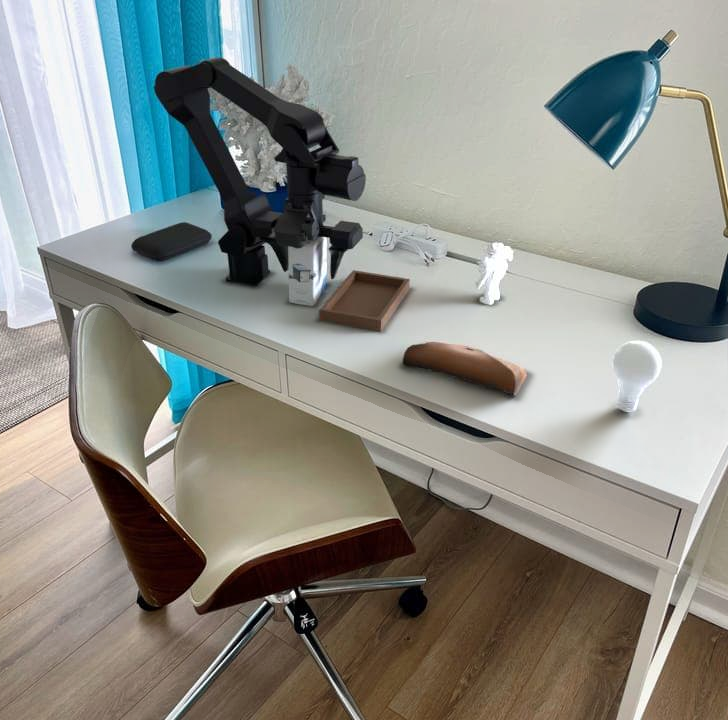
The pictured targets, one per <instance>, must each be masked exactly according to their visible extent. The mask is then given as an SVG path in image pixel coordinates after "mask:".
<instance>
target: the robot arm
mask: <svg viewBox="0 0 728 720" xmlns="http://www.w3.org/2000/svg"><path fill="white" fill-rule="evenodd" d="M209 89H212V90H214V91H215V92H216V93H218V94H220V95H221V96H222V97H224V98H225V99H226V100H228V101H230V102H231V103H232V104H234V105H235V106H237V107H238V108H240V109H241V110H243V111H245V112H246V113H247V114H249V115H250V116H252V117H253V118H254V119H256V120H257V121H259V122H260V123H262V125H263V126H264V127H266V129H267V132H268V133H269V135H270V137H271V138H272V139H273V140H274V141H275V142H276V143H277V144H278V145H279V146H280V147H281V148H282V149H281V150H280V152H279V153H278V154H277V155H275V156H274V157H273V160H274V161H275V162H277V163H282V164H285V170H286V186H287V197H286V198H285V199H284V209H283V212H277V211H274V210H273V209H272V207H271V205H270V202H269V200H268V197H267V196H266V195H265V194H264V193H263V194H260V195H257V194H256V193H254V192H253V191H251V190H250V188H249V187H248V185H247V183H246V181H245V179H244V178H243V176H242V173H241V172H240V169H239V167H238V165H237V163H236V162H235V159H234V157H233V156H232V153H231V152H230V150H229V148H228V146H227V144H226V142H225V140H224V138H223V136H222V134H221V131H220V129H219V128H218V127H217V125H216V122H215V121H214V119H213V117H212V114H211V95H210V92H209ZM153 91H154V94H155V96H156V98H157V100H158V101H159V103H160V104H161V105H162V107H163V108H164V110H165V111H166V113H167V115H169V116H170V117H172V118H173V119H174V120H176V121H177V122H178V123H180V124H181V125H182V126H183V127H184V128H185V130H186V132H187V134H188V136H189V138H190V140H191V141H192V143H193V146H194V147H195V149H196V151H197V153H198V155H199V157H200V159H201V160H202V162H203V163H202V164H203V165H204V166H205V168H206V170H207V172H208V174H209V176H210V178H211V180H212V182H213V184H214V186H215V187H216V189H217V191H218V193H219V195H220V197H221V199H222V201H223V217H224V218H223V221H224V223H225V226H226V228H227V231H226V232H225V233H224V234H223V235H222V236H221V237H220V238H219V240H218V241H217V244H218V247H219V250H220V252H221V253H224V254H226V255H227V263H228V273H229V274H228V275H227V276H225V282H229V283H235V284H241V285H246V286H251V287H257V286H258V285H259V284H260V283H262V282H263V281H264V280H265V279H266V278H267V277H268V276H269V275H270V274H271V273H272V272H271V269H270V268H269V258H268V257H269V256H268V254H267V253H266V246H265V244H268V245H269V246H270V247H271V249H272V251H273V252H274V254H275V257H276V258H277V260H278V262H279V264H280V267H281V268H282V271H283V272H284V273H287V272H289V258H288V246H289V247H294V248H297V249H299V248H302V247H303V246H304V245H305V243H306V242H307V241H308V240H311V241H315V239H316V237H317V236H320V237H326V239H327V238H329V244H330V246H329V247H328V248H327V249H328V250H327V251H328V252H329V254H330V261H329V262H330V265H329V267H330V268H329V270H330V271H329V276H330V279H331V280H334V279H335V278H336V275H337V273H338V270H339V268H340V264H341V262H342V259H343V257H344V255H345V253H346V252H347V251H348V250H353V249H354V248H355V247H356V246H357V245H358V244H359V243H360V241H361V240H362V239H363V238H364V229H363V227H362V225H361V224H360V222H355V221H346V220H339V221H338V223H336V225H334V226H331V225H324V223H325V222H326V221H327V217H326V215H327V214H324V207H323V200H324V199H325V198H326V197H332V198H338V199H342V200H347V201H352V202H357V201H358V200H359V199H360V198H361V197H362V195H363V193H364V191H365V187H366V181H367V175H366V174H365V169H364V168H363V166H362V165H360V164H359V157H358V156H354V155H350V156H346V155H341V154H339V153H340V149H339V147H338V146H337V143H336V142H335V141H334V139H333V137H332V135H331V134H330V132H329V130H328V129H327V127H326V125H325V122H324V119H325V118H323V117H322V115H321V114H320V113H319V112H317V111H316V110H314V109H311V108H310V107H308V106H305V105H303V104H300V103H296V102H291V101H286V100H284V99H283V98H280V97H278V96H276V94H274V93H272V91H269V90H268V89H266V88H265V87H263V86H262V85H261V84H259V83H257V82H256V81H255V80H253V79H251V78H250V77H249V76H247V75H246V74H244V73H243V72H241V71H240V70H238V69H237V68H235V67H234V66H232V65H231V63H230V62H229V60H227V59H225V58H223V57H220V56H219V57H218V56H217V57H213V58H209V59H208V58H207V59H204V60H201V61H200V62H199V63H196V64H194V65H193V66H192V65H183V66H179V67H175V68H171V69H167V70H163V71H160V72H159V73H157V74H156V77H155V79H154V85H153ZM316 146H319V147H318V148H315V147H316ZM312 148H315V149H313V150H311V151H310V149H312Z"/></svg>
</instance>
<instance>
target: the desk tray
mask: <svg viewBox="0 0 728 720" xmlns="http://www.w3.org/2000/svg"><path fill="white" fill-rule="evenodd" d="M410 282H411V279H410V278H406V277H405V278H404V277H399V276H394V275H393V276H392V275H386V274H380V273H374V272H368V271H362V270H355V269H353V270H352V271H350V273H349V274H348V275H347V277H346V278H345V279H344V280H343V282H341V284H340V285H339V286H338V287H337V288H336V289H335V290H334V292H333V293H331V295H330V296H329V298H328V299H327V300H326V301H325V302H324V303H323V305H322V306H321V307H320V308H319V309H318V313H319V321H321V322H327V323H333V324H338V325H342V326H343V325H344V326H348V327H353V328H359V329H366V330H371V331H375V332H382V331H383V329H384V328H385V326H386V325H387V324H388V322H389V320H390V319H391V317H392V316H393V315H394V313H395V312H396V311H397V308H398V307H399V306H400V304H401V302H402V301H403V299H404V298H405V297H406V295H407V293H409V291H410Z"/></svg>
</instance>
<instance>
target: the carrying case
mask: <svg viewBox="0 0 728 720" xmlns="http://www.w3.org/2000/svg"><path fill="white" fill-rule="evenodd" d="M212 237H213V234H212V233H211V232H210V231H208V230H207V229H205V228H204V227H203V228H202V227H200V226H197V225H194V224H192V223H189V222H186V221H185V222H184V221H182V222H179V223H176V224H173V225H169V226H167V227H164V228H161V229H158V230H156V231H153V232H150V233H147V234H144V235H141V236H139V237H137V238H135V239H134V240H133V242H132V243H131V249H132V250H133V251H134V252H136V254H137V255H141V256H144V257H145V258H148V259H150V260H153V261H154V262H165V261H167V260H170V259H173V258H175V257H178V256H180V255H183V254H185V253H188V252H190V251H194V250H195V249H198V248H200V247H203V246H205V245H208V244H209V243H210V241H211V240H212Z"/></svg>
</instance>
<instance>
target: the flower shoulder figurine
mask: <svg viewBox="0 0 728 720" xmlns="http://www.w3.org/2000/svg"><path fill="white" fill-rule="evenodd" d="M483 252H484V253H486V254H487V257H486V256H484V257H481V258H480V260H478V261H477V262H476V264H478V265H476V268H477V270H478V271H479V273H480V274H481V275H480V277H479V278H478V280H477V281H476V282H475V284H474V286H475V288H476V290H480V289H481V287H482V286H483V285H484V288H483V296H481V297H479V302H480V303H482V304H485V305H493V304H494V301H498V300H499V299H500V289H499V284H500V280H501V279H502V278H503V277H504V276H505V275H506V272H507V269H508V268H509V267H508V263H507V260H508V261H509V262H511V261H512V260H513V257H514V256H513V253H514V250H512V249H511V246H509V245H504V244H503V243H502V242H496V241H495V242H491V243H489V244H487V246H485V247H484V248H483ZM481 269H483V270H481Z"/></svg>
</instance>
